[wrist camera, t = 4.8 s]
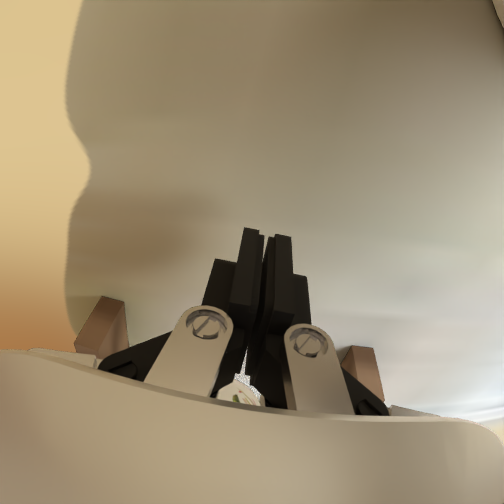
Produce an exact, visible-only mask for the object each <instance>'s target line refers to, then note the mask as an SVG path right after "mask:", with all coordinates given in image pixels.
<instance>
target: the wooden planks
mask: <svg viewBox="0 0 504 504" xmlns="http://www.w3.org/2000/svg"><path fill="white" fill-rule="evenodd" d="M74 346H75V349H76V352H77V353H80V354H89V355H95V356H96V359H104V358H106V357H107V356H109V355H111V354H114V353H116V352H119V351H122V350H124V349H127V348H129V344H128V336H127V328H126V319H125V309H124V302H122V301H118V300H114V299H110V298H106V297H103V296H102V297H101V299H100V300H99V302H98V304H97V305H96V307H95V308H94V310H93V312H92V313H91V315H90V317H89V318H88V320H87V321H86V323H85V325H84V326H83V328H82V330H81V332H80V333H79V335H78V337H77V338H76V340H75V342H74ZM340 366H341V367H343V368H344V369H345V370H346V371H347V372H348V373H350V374H351V375H352V376H353V377H354V378H356V379H357V380H358V381H359V382H360V383H362V384H363V385H364V386H365V387H366V388H367V389H369V390H370V391H371V392H372V393H373V394H375V395H376V396H377V397H378V398H379V399H381V400H382V402H384V401H385V399H384V394H383V389H382V384H381V380H380V375H379V371H378V366H377V362H376V358H375V354H374V350H373V348H367V347H359V346H351V348H350V350H349V352H348V353H347V355H346V357H345V358H344V360H343V362H342V363H341V365H340Z"/></svg>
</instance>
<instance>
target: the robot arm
mask: <svg viewBox="0 0 504 504" xmlns="http://www.w3.org/2000/svg"><path fill="white" fill-rule="evenodd" d="M492 1H493V4H494V7H495V10H496V12H497V15H498V17H499V19H500V21H501V24H502V26H503V28H504V0H492ZM263 248H264V235H260V234H259V230H255V229H250V228H245V227H244V231H243V236H242V241H241V246H240V251H239V256H238V261H237V263H236V262H231V261H226V260H221V259H215V261H214V264H213V267H212V271H211V274H210V277H209V281H208V284H207V287H206V291H205V294H204V298H203V301H202V304H201V306H196V307H192V308H190V309H188V310H187V311H185V312H184V314H183V315H182V316H181V318H180V319H179V321H178V323H177V325H176V326H175V328H174V330H173V331H171V332H168V333H166V334H163V335H161V336H158V337H155V338H153V339H150V340H148V341H145V342H143V343H140V344H137V345H135V346H132V347H130V348H127V349H124V350H122V351H119V352H116V353H114V354H111V355H109V356H107V357H106V358H104V359H96V356H95V355H89V354H80V353H71V352H64V351H56V350H50V349H42V348H32V349H29V350H8V349H6V350H0V504H504V445H503V443H502V441H501V440H500V438H499V436H498V435H497V434H496V433H495V432H494V431H492V430H491V429H489V428H488V427H486V426H484V425H481V424H478V423H476V422H473V421H469V420H464V419H459V418H449V417H441V416H438V415H434V414H429V413H424V412H420V411H415V410H411V409H407V408H402V407H398V406H394V405H391V406H390V408H388V407H386V405H385V404H384V403H383V402H382V400H381V399H379V398H378V397H377V396H376V395H375V394H373V393H372V392H371V391H370V390H369V389H367V388H366V387H365V386H364V385H363V384H362V383H360V382H359V381H358V380H357V379H356V378H354V377H353V376H352V375H351V374H350V373H348V372H347V371H346V370H345V369H344V368H343V367H341V366H340V363H339V360H338V357H337V354H336V351H335V348H334V344H333V342H332V340H331V338H330V336H329V335H328V334H327V333H326V332H325V331H323V330H322V329H320V328H319V327H316V326H313V325H311V314H310V303H309V293H308V283H307V277H306V276H302V275H297V274H293V261H292V243H291V237H289V236H285V235H280V234H275V237H270V236H269V238H268V242H267V246H266V250H265V254H264V258H263ZM262 259H263V262H262ZM247 347H248V348H247ZM246 350H247V357H246V366H245V375H249V376H250V385H251V386H254V387H255V388H256V389H257V390H258V391H259V392H260V393H261V396H260V406H257V405H250V404H244V403H238V402H232V401H226V400H221V399H217V398H218V395H219V391H220V389H221V388H223V387H225V386H227V385H229V384H230V383H232V382H233V379H234V376H235V373H237V374H240V371H241V368H242V364H243V361H244V357H245V354H246Z"/></svg>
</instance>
